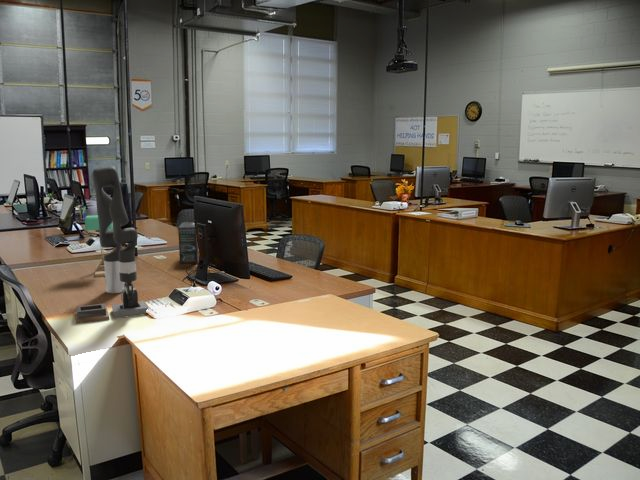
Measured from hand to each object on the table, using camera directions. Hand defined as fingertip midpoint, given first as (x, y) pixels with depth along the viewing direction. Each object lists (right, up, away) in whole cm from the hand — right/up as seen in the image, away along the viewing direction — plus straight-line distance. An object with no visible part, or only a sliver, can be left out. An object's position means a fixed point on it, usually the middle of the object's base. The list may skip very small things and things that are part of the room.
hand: (129, 303), depth 266 cm
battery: (0, -4, +1) cm, 4 cm away
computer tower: (+3, +17, +112) cm, 113 cm away
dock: (0, -4, +1) cm, 4 cm away
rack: (-15, -5, -6) cm, 17 cm away
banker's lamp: (-42, +10, +76) cm, 87 cm away
